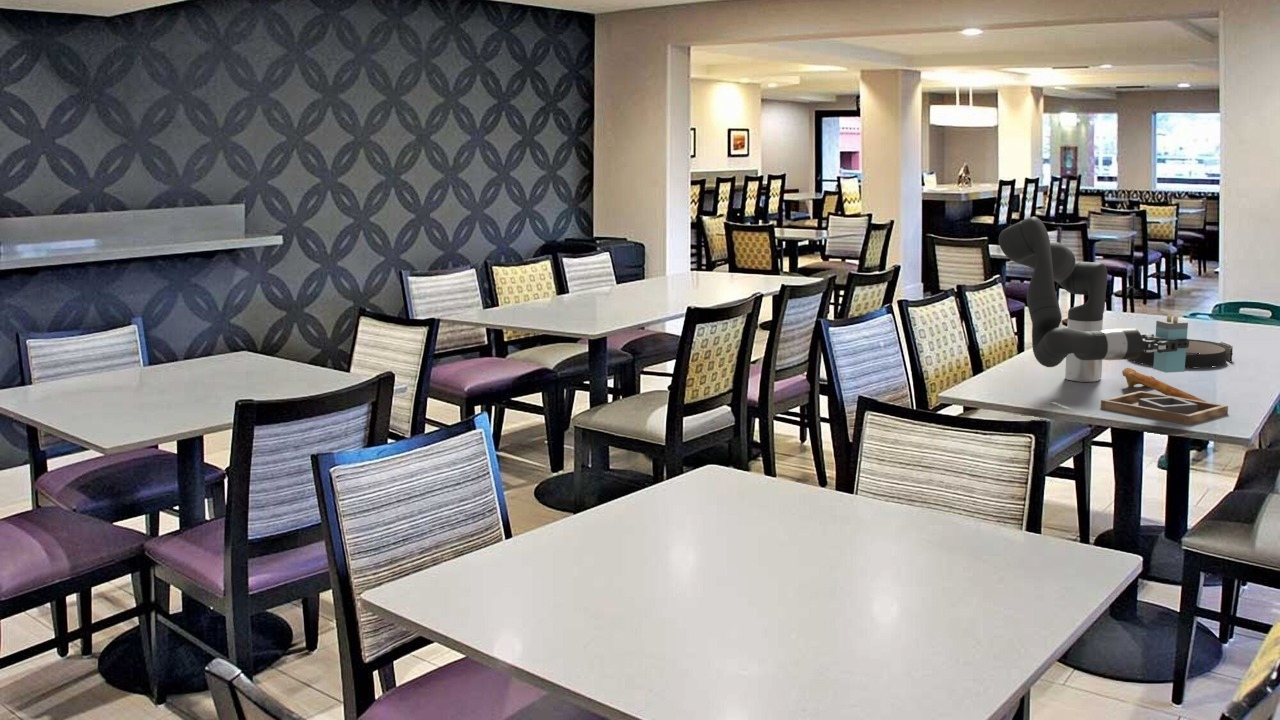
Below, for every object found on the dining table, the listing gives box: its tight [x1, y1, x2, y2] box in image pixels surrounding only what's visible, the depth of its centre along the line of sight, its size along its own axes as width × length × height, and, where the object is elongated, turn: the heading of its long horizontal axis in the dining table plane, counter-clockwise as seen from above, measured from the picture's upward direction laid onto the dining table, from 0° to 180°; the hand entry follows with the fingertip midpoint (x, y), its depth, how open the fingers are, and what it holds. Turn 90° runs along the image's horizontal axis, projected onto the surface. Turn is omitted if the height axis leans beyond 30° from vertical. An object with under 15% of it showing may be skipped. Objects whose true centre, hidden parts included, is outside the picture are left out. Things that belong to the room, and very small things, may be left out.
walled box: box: [1100, 390, 1229, 426], centre depth 282 cm, size 17×23×2 cm
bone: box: [1121, 367, 1207, 402], centre depth 299 cm, size 33×8×10 cm, turn 3°
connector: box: [1152, 314, 1189, 373], centre depth 278 cm, size 5×5×14 cm
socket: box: [1138, 397, 1198, 415], centre depth 281 cm, size 10×10×2 cm
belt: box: [1129, 338, 1234, 369], centre depth 350 cm, size 29×30×5 cm
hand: (1180, 341), depth 279 cm, fingers closed on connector, 5 cm apart
